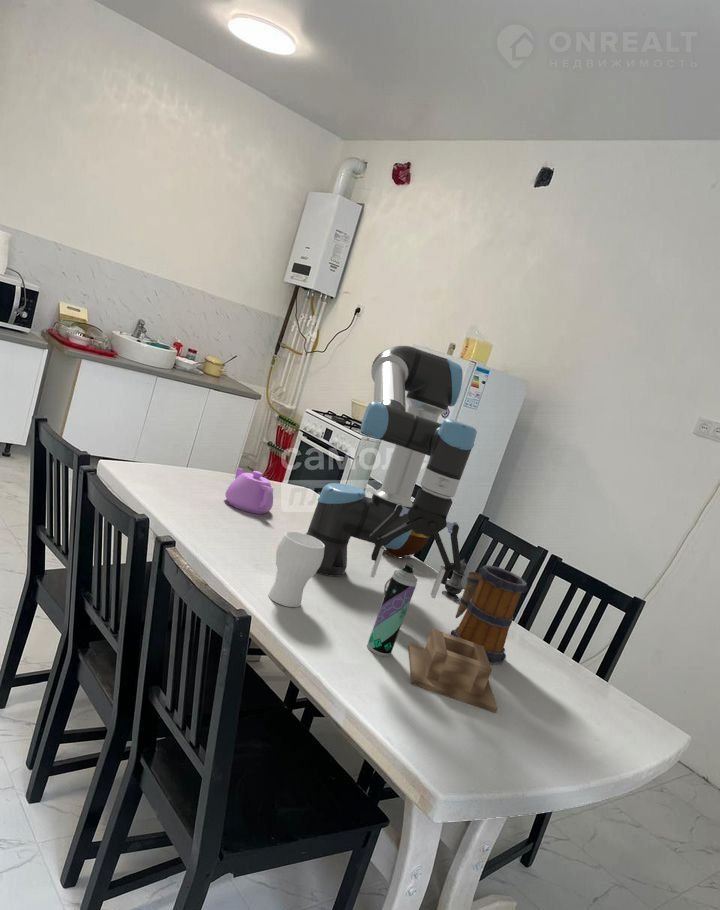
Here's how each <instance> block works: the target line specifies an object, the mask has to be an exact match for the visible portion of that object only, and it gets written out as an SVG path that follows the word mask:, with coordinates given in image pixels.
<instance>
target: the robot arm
mask: <svg viewBox="0 0 720 910" xmlns="http://www.w3.org/2000/svg"><path fill="white" fill-rule="evenodd" d="M370 373H371V378H372V380H373V381H372V382H374V387H373V401H370V402H369V403H368V405H367V406H366V408H365V411H364V413H363V417H362V420H361V425H360V431H361V432H362V433H363V434H364V435H367V436H370V437H372V438H374V440H375V439H376V440H380V441H384V442H387V443H390V444H393V445H395V447H394V449H393V451H392V455H391V458H390V461H389V464H388V467H387V469H386V472H385V476H384V478H383V481H382V484H381V486H380V488H379V489H376V490H374V491H373V493H372V497H369V496H368V497H367V496H366V491H365V490H364V489H362V488H360V487H356V486H354V485H351V484H345V483H340V482H339V483H336V482H335V483H328V484H326V485H324V486H323V488H322V490H321V491H320V492H321V493H320V495H319V497H318V498H317V503H316V506H315V509H314V511H313V515H312V517H311V520H310V523H309V527H308V530H307V532H306V533H305V534H307V535H310V536H312V537H315V538H316V539H318V540H320V541H321V542H322V543H323V544H324V545H325V548H324V557H323V560H322V563H321V565H320V567H319V569H318V570H317V572H316V573H317V574H321V575H324V576H331V577H338V576H339V577H340V576H343V575H345V573H346V570H347V566H348V545H349V542H350V539H351V537H352V538H355V539H358V540H361V541H364V542H368V543H372V544H374V547H373V550H372V552H371V558H370V559H371V560H372V561H374V563H373V565H372V568H371V571H370V578H373V579H374V578H375V576H376V573H377V571H378V567H379V565H380V562H381V559H382V556H383V553H384V550H385V547H387V548H391V549H399V548H400V547H401V546H402V545H404V543H405V542H406V541H407V539H408V537H409V535H410V533H411V531H412V530H413V531H414V532H415V533H417V534H423V535H424V536H426V537H430V538H431V537H433V538H434V541H435V544H436V546H437V548H438V551H439V554H440V557H441V559H442V562H443V564H444V566H443V565H441V566H440V568H439V570H438V571H437V572H438V573H437V574H436V575H437V576H436V578H435V581H434V584H433V587H432V589H431V592H430V596H431V598H432V599H434V600H435V599H436V597H437V595H438V593H439V590H440V586H441V584H442V585H444V586H445V583H446V582H447V580H449V576H450V574H451V572H453V570H457V571H459V570H461V564H460V561H461V556H460V550H459V548H460V547H459V541H458V534H459V531H460V530H459V529H460V526H459V524H458V522H449V521H447V517H448V515H449V512H450V510H451V509H450V508H452V504H453V499H452V498H454V497H455V495H456V493H457V491H458V487H459V484H460V482H461V479H462V476H463V473H464V470H465V469H466V465H467V464H468V463H467V462H468V460H469V457H470V455H471V452H472V450H473V448H474V447H475V446H474V445H475V442H476V437H477V433H478V432H477V429H476V427H474V426H471V425H469V424H466V423H463V422H461V421H458V420H454V419H451V418H445V419H444V420H443V421H442V422H440V423H439V422H438V419H439V417H440V416H441V415H443V414H444V413H446V412H447V411H448V408H449V407H455V405H456V403H458V399H459V398H460V394H461V391H462V384H463V374H464V373H463V368H462V366H461V365H460V364H459V363H457V362H455V361H453V360H451V359H448V358H445V357H442V356H439V355H435V354H433V353H432V352H431V353H430V352H428V351H424V350H422V349H419V348H416V347H415V346H409V345H398V346H397V345H396V346H392V347H391V346H390V347H389V348H385V349H383V350H382V351H381V352H380V353H378V355H377V356H376V357H375V358H374V360H373V361H372V365H371V372H370ZM406 392H407V393H406ZM406 401H407V403H408V408H406V406H407V405H406ZM406 410H407V411H406ZM426 456H429V459H428V462H427V465H426V467H425V470H424V473H423V476H422V478H421V481H420V483H419V484H420V486H421V487H420V488H418V490H417V492H416V495H415V498H414V501H412V500H411V499H412V495H413V492H414V488H415V485H416V483H417V480H418V477H419V474H420V471H421V469H422V466H423V463H424V460H425V457H426ZM445 528H447V532H448V533H449V534H450V542H451V543H450V544H451V552H452V559H453V562H451V561H450V559H449V556H448V554H447V553H448V552H447V551H446V548H445V545H444V544H443V541H442V537H441V536H440V533H439V532H441V531H442V530H444V529H445Z"/></svg>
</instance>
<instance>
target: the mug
mask: <svg viewBox="0 0 720 910" xmlns="http://www.w3.org/2000/svg"><path fill="white" fill-rule="evenodd" d="M527 585H528V583H527V582H526V580H524V578H522V577H521V576H519V575H517V574H515V573H514V572H511V571H509V570H506V569H505V568H501V567H498V566H493V565H489V564H488V565H487V564H485V565H483V566H481V567H480V568H479V570H478V572H476V571H470V572H469V571H468V573H467V577H466V582H465V586H464V589H463V593H462V596H461V597H460V598H459V605H458V608H457V611H456V614H455V618H456V619H458V618H460V616H462V615H463V616H462V618H461V621H460V623H459V625H458V626H456V628H455V629H452V630H451V631H450V635H453V636H456V637H458V638H461V639H464V640H467V641H470V642H473V643H476V644H479V645H482V646H484V649H485V652H486V655H487V658H488V660H489V663H490V666H500V665H501V666H502V665H503V663H504V661H505V660H506V657H507V655H506V653H505V652H506V649H505V644H506V640H507V638H508V633H509V629H510V627H511V625H512V624H513V623H512V622H513V620H514V613H515V610H516V608H517V605H518V603H519V600H520V598H521V596H522V594H523V593H527V591H528V589H529V588H528V586H527ZM464 612H465V613H464Z"/></svg>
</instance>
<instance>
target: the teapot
mask: <svg viewBox="0 0 720 910" xmlns="http://www.w3.org/2000/svg"><path fill="white" fill-rule="evenodd" d="M235 472H236V473H235V476H234V480H233V481H232V482H230V484H229V486H228V487H227V489H226V491H225V499H226V501H227V503H228V504H229V505H230V506H232V507H234V508H236V509H238V510H241V511H244V512H247V513H251V514H255V515H256V514H257V515H264V514H266V513H268V512H269V511H270V510H272V508H273V505H274V493H273V492H274V487H272V484H271V482H270V480H269V479H268V478H266V477H263V473H262V472H260V471H257V470H253V471H252V473H251V472H244V469H242V468H240V467H237V468H236V471H235Z"/></svg>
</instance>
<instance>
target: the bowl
mask: <svg viewBox="0 0 720 910" xmlns="http://www.w3.org/2000/svg"><path fill="white" fill-rule="evenodd" d="M430 538H431V537H426V536H424V535H423V534H417V533H415V532H414V531H413V530H412V531H411V533H410V535H409V537H408V539H407V541H406V542H405V543H404V545H402V546H401V547H400V548H399V549H391V548H387V547H384V549H386V550H385V553H387V554H388V553H389V554H391V555H392V557H394V556H395V557H394V558H397V557H407V556H412V555H415V554H416V553H419V551H421V550H422V549H423V548H424V547H425V546H426V545H427V543H428V542H429V539H430ZM389 554H388V555H389ZM391 555H390V556H391Z"/></svg>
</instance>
